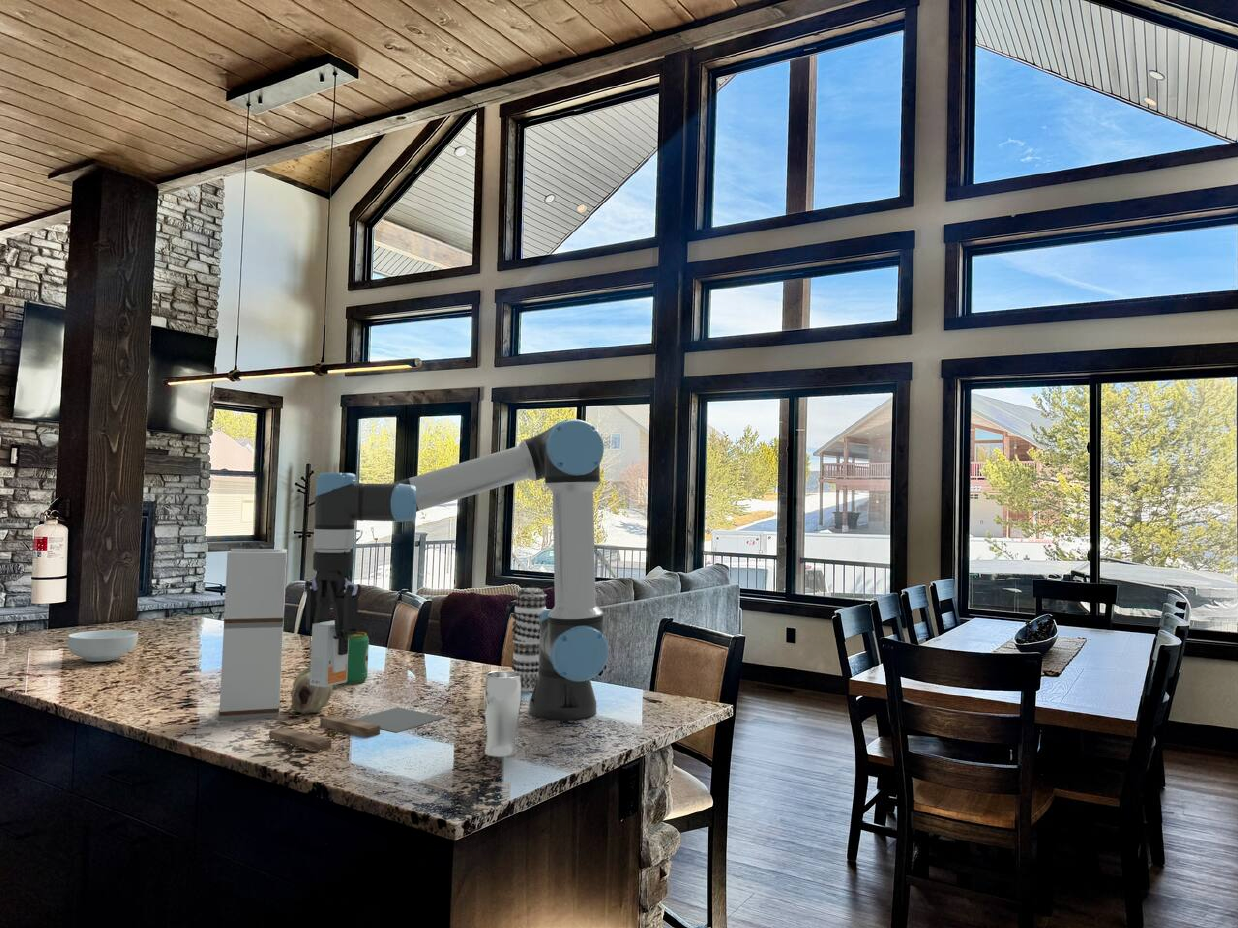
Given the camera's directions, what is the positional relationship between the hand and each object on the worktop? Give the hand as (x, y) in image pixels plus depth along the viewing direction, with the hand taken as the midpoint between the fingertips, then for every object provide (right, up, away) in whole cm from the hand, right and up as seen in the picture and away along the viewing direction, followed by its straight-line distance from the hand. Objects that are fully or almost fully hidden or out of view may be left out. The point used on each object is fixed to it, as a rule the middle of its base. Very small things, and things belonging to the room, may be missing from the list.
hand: (329, 669), depth 161 cm
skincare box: (0, -3, 0) cm, 3 cm away
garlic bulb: (-10, -14, +18) cm, 25 cm away
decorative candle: (+34, -17, +47) cm, 60 cm away
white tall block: (-23, -14, +16) cm, 31 cm away
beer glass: (+35, -14, -8) cm, 38 cm away
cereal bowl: (-87, -14, +67) cm, 111 cm away
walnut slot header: (-1, -13, -1) cm, 13 cm away
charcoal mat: (+10, -14, +13) cm, 22 cm away
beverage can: (-12, -16, +49) cm, 53 cm away
